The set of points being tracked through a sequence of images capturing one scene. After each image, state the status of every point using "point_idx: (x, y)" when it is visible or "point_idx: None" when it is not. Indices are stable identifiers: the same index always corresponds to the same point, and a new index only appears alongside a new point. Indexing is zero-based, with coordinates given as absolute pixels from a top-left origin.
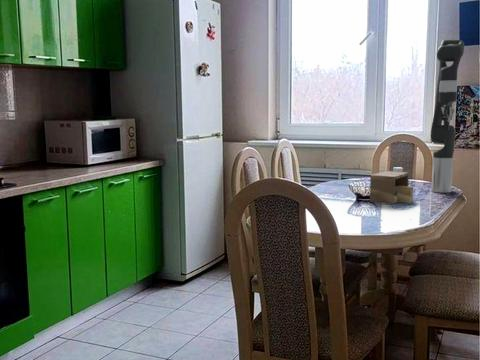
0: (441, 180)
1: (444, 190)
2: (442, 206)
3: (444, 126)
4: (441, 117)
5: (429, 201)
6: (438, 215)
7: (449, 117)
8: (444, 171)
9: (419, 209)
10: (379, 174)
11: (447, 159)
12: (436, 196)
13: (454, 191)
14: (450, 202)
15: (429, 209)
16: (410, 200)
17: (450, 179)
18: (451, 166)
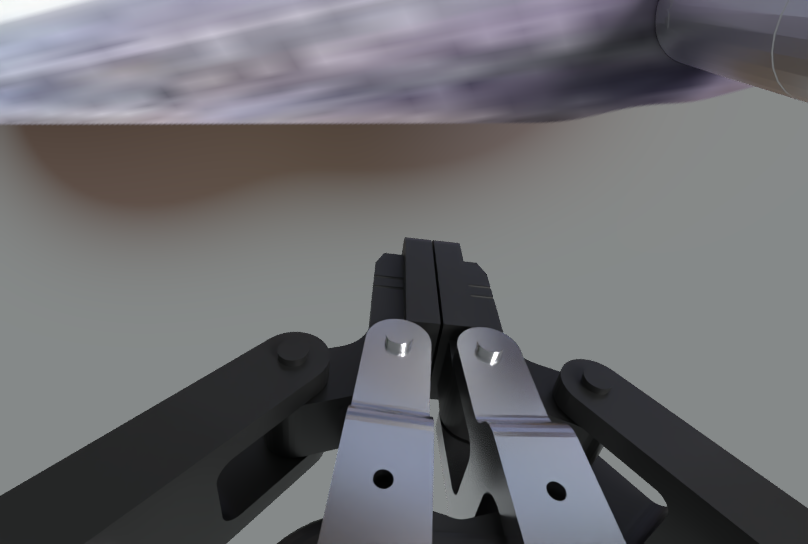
0: (696, 16)
1: (661, 33)
2: (224, 98)
3: (375, 283)
4: (195, 383)
5: (327, 5)
6: (6, 120)
7: (447, 480)
8: (733, 42)
9: (64, 5)
10: None
11: (804, 78)
12: (514, 9)
13: None
14: (353, 114)
15: (104, 54)
16: None
17: (718, 74)
18: (784, 95)
